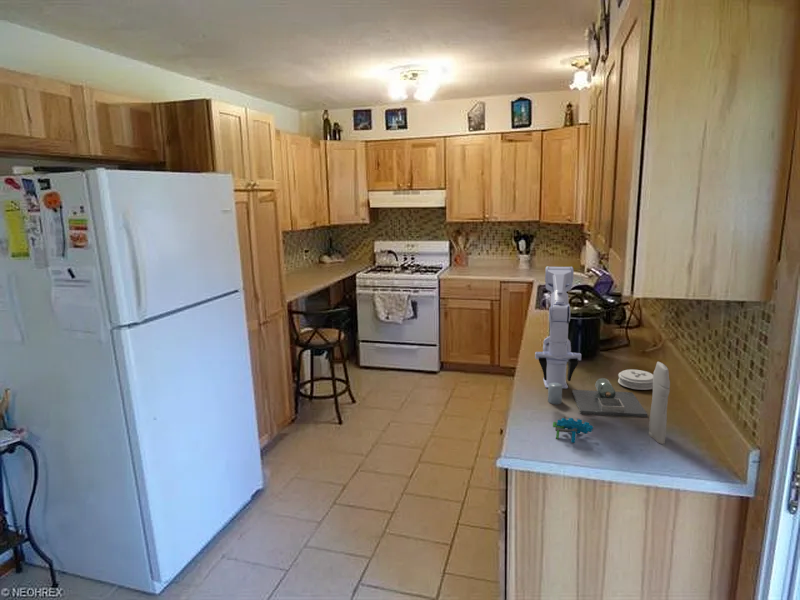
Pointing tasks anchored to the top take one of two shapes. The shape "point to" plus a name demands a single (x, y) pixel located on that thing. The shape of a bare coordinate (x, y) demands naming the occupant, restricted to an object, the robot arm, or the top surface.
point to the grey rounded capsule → (555, 393)
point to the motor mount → (608, 401)
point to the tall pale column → (659, 403)
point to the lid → (636, 379)
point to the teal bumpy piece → (572, 427)
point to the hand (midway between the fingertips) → (557, 379)
